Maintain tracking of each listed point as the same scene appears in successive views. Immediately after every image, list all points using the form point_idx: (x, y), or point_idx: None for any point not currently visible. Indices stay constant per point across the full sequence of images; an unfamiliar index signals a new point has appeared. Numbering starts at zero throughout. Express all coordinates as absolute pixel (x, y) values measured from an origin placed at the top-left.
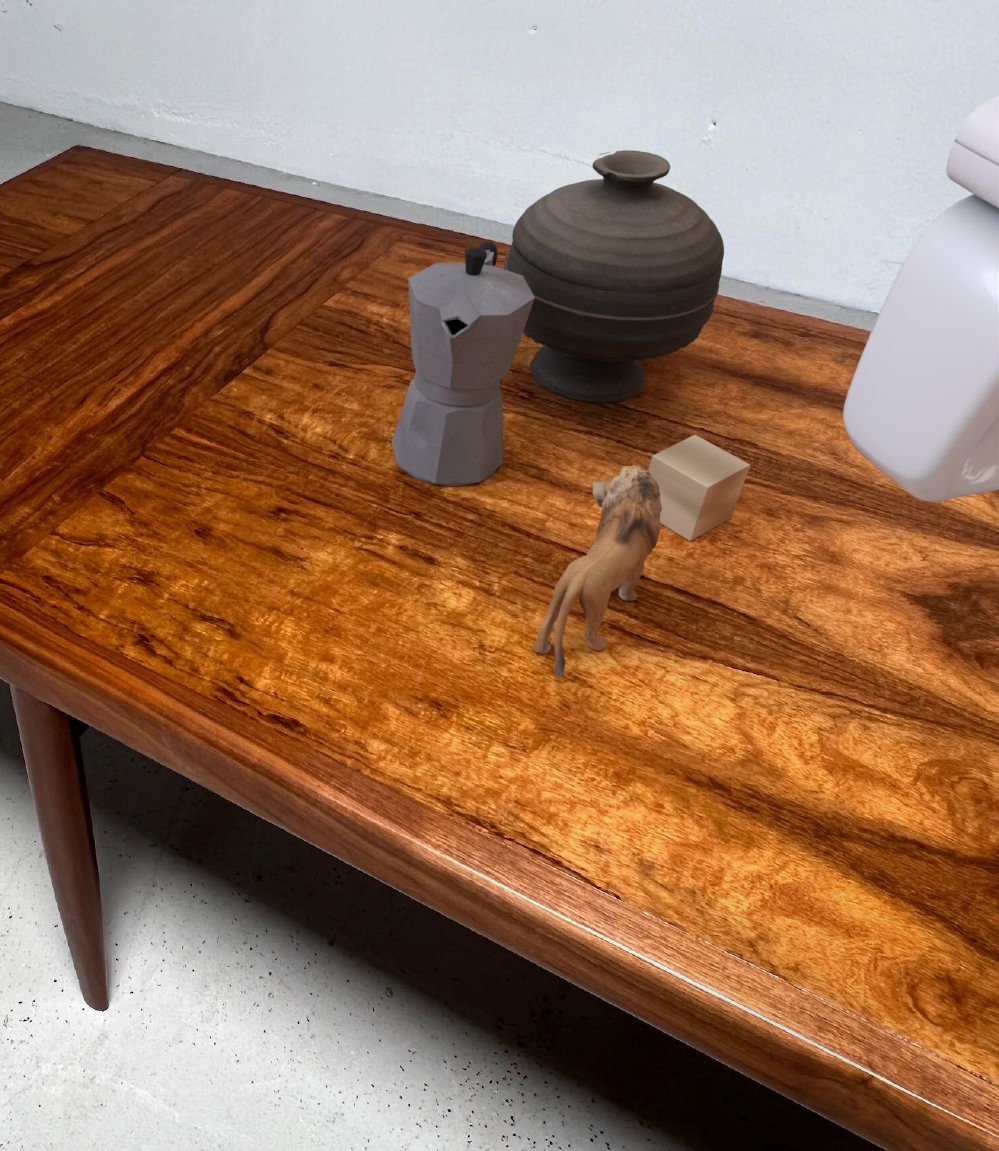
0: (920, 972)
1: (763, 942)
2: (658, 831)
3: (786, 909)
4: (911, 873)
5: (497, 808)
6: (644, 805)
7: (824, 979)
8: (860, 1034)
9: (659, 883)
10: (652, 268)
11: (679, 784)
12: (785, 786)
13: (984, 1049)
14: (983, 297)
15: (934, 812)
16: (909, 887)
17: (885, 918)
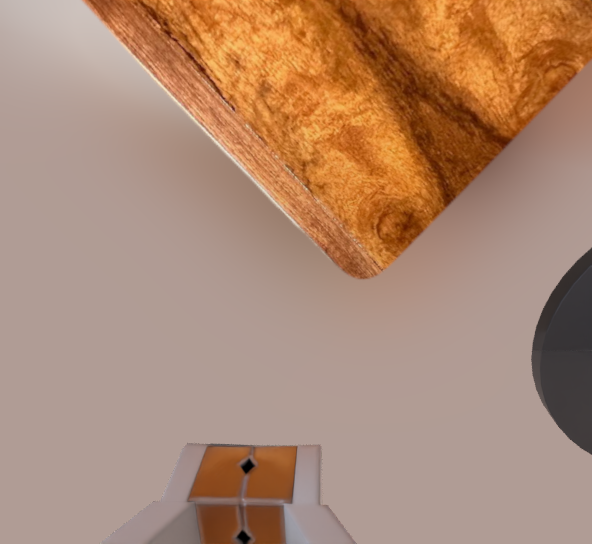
0: (397, 207)
1: (312, 165)
2: (289, 59)
3: (342, 145)
4: (448, 139)
5: (174, 5)
6: (291, 30)
7: (334, 197)
8: (333, 233)
9: (267, 105)
10: None
11: (330, 15)
12: (414, 38)
13: (396, 257)
14: None
15: (510, 92)
16: (438, 149)
17: (403, 167)
